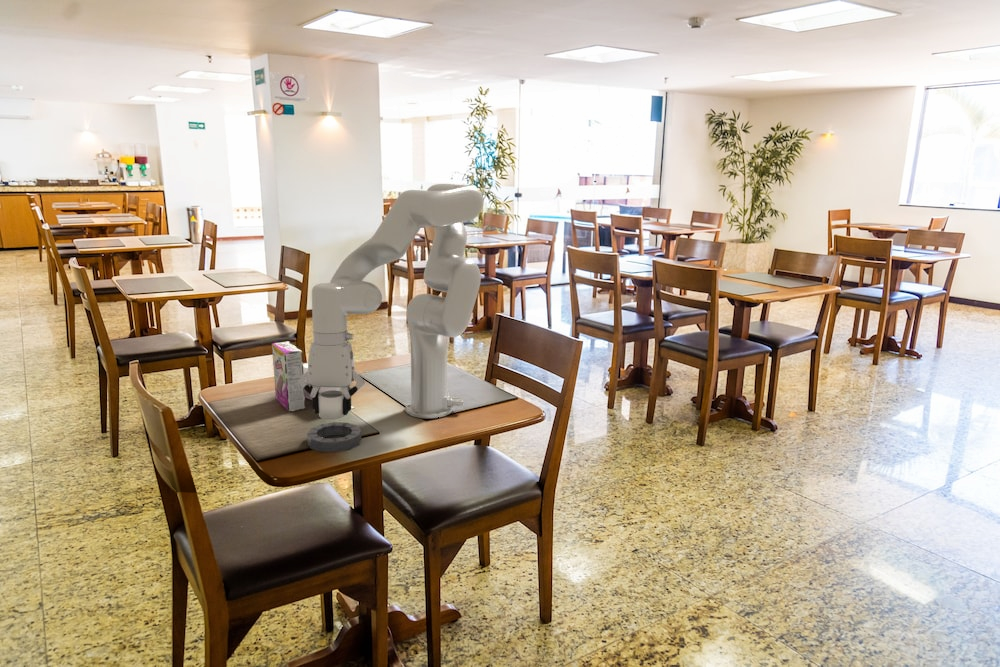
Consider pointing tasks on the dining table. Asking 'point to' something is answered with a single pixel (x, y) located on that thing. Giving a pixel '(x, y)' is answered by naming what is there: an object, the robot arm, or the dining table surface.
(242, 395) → the dining table surface
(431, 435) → the dining table surface
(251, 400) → the dining table surface
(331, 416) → the white short cylinder
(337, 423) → the gray notched ring
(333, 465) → the dining table surface
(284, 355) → the candy bar box
